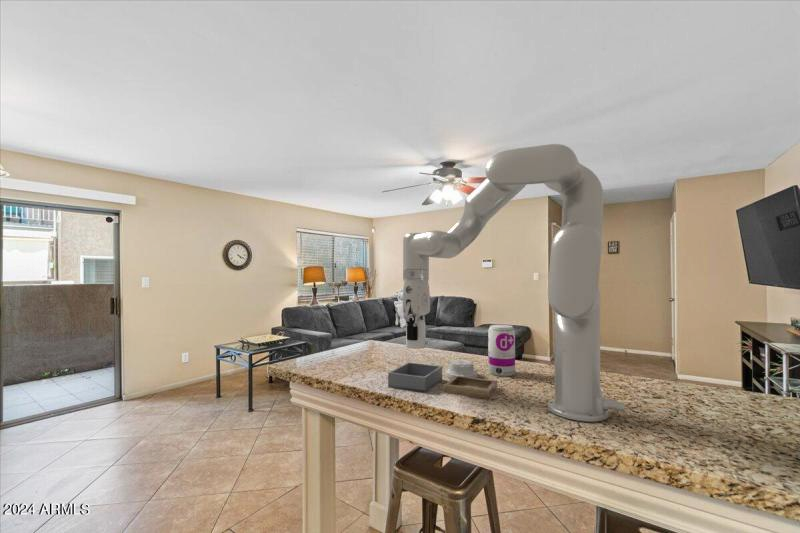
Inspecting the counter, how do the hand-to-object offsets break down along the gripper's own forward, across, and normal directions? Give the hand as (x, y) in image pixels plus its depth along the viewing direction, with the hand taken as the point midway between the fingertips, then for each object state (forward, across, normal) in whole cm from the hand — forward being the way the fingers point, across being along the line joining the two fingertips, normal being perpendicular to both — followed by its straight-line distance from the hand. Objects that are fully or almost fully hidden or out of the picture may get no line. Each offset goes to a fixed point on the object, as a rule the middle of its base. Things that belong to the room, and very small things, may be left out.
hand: (415, 338), depth 105 cm
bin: (+13, 0, 0) cm, 13 cm away
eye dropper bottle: (+3, 0, 0) cm, 3 cm away
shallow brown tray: (+13, +1, -16) cm, 21 cm away
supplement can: (+13, +22, -20) cm, 33 cm away
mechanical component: (+14, +14, -9) cm, 22 cm away
